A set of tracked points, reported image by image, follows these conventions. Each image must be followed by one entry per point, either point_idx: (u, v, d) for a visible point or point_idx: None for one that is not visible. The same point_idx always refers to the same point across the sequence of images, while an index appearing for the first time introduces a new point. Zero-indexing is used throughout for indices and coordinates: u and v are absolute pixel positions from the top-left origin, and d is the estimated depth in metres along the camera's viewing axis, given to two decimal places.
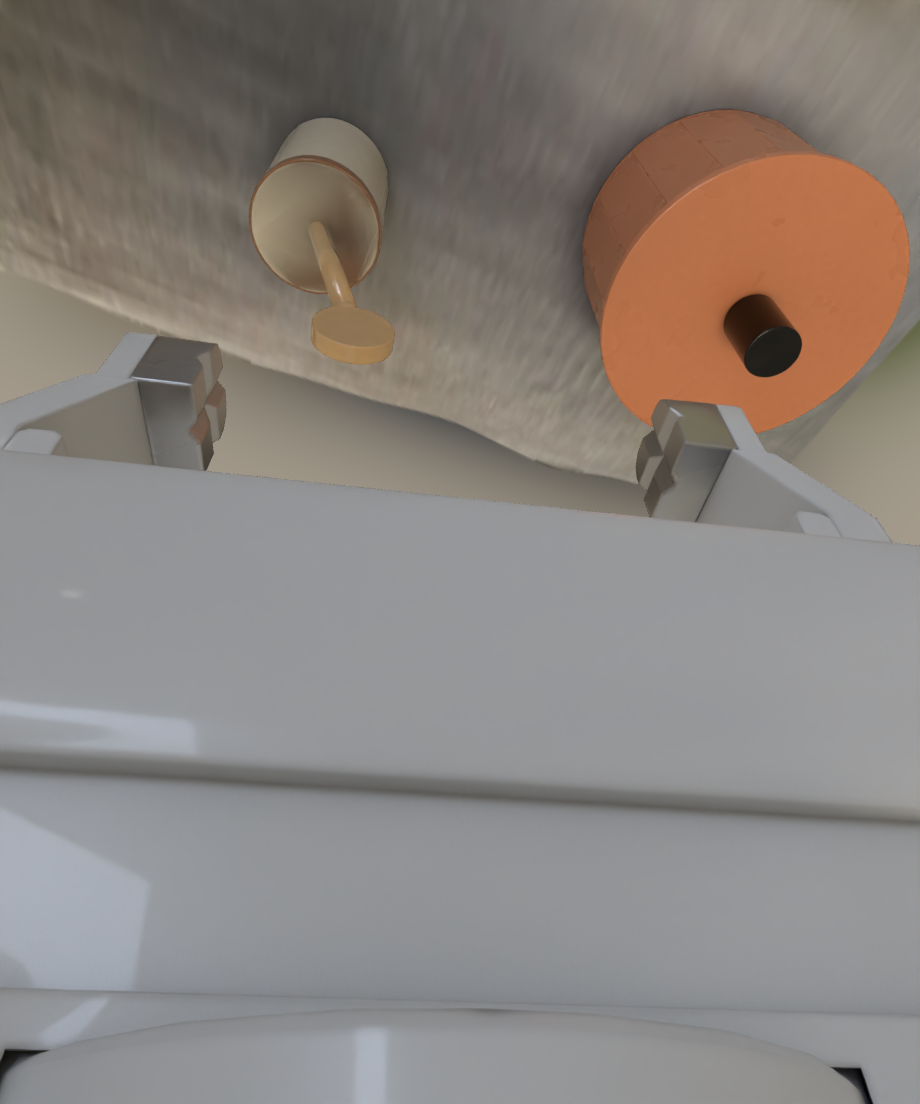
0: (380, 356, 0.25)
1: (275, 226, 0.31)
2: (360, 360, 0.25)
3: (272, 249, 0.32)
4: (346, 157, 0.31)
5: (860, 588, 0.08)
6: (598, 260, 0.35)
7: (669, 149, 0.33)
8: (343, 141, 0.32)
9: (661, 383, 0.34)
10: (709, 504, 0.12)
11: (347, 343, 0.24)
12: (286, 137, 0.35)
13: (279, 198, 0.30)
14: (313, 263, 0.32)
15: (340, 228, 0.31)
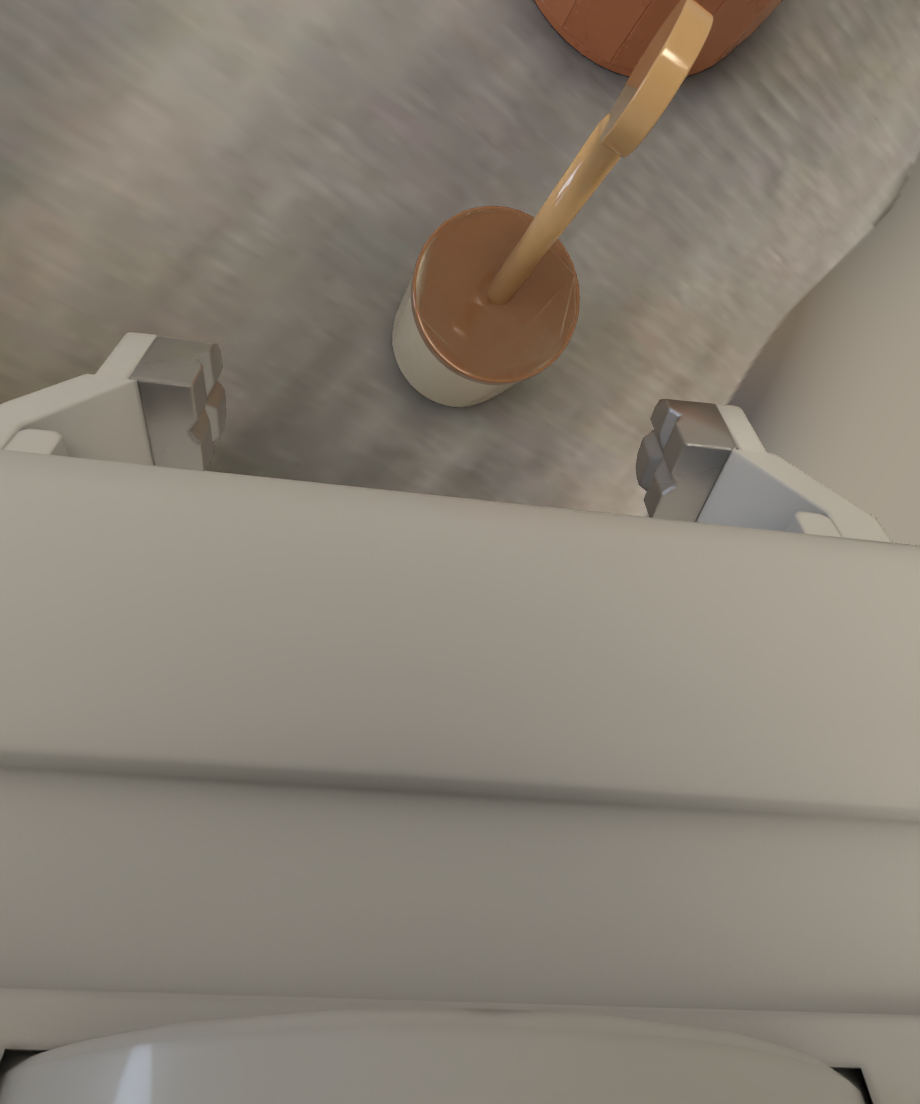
0: None
1: (478, 343, 0.24)
2: (703, 26, 0.14)
3: (503, 361, 0.24)
4: None
5: (860, 588, 0.08)
6: None
7: None
8: None
9: None
10: (709, 504, 0.12)
11: (669, 35, 0.14)
12: None
13: (449, 320, 0.23)
14: (534, 318, 0.24)
15: (504, 261, 0.24)
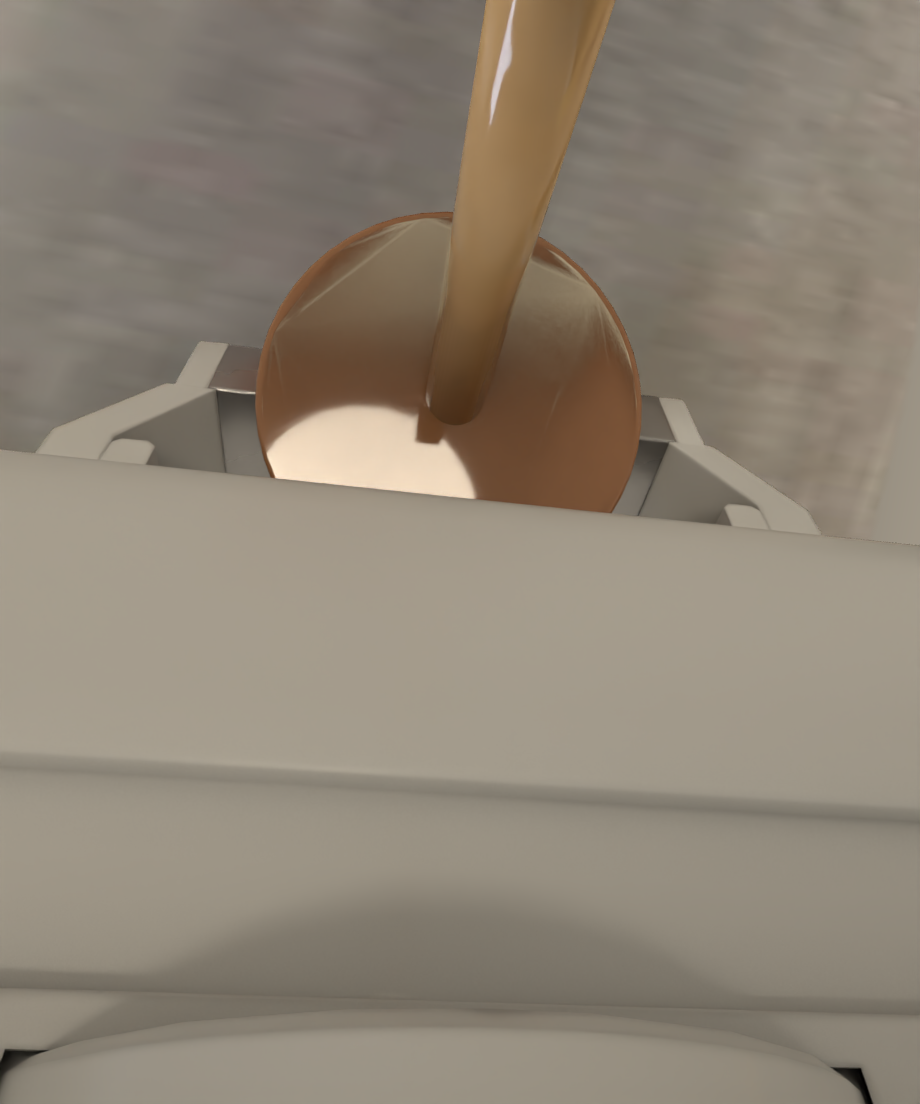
0: None
1: None
2: None
3: None
4: None
5: (860, 588, 0.08)
6: None
7: None
8: None
9: None
10: (650, 498, 0.12)
11: None
12: None
13: None
14: (549, 416, 0.11)
15: None
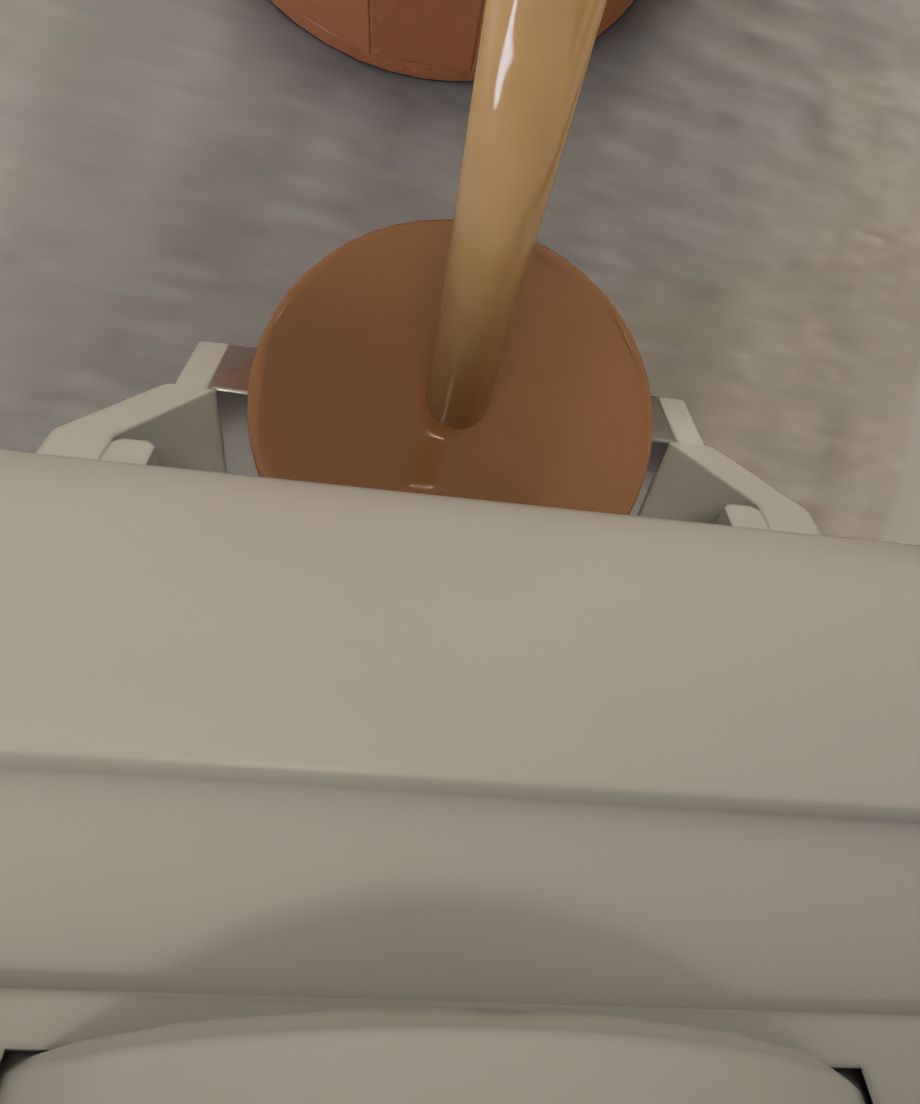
0: None
1: None
2: None
3: None
4: None
5: (860, 588, 0.08)
6: None
7: None
8: None
9: None
10: (650, 498, 0.12)
11: None
12: None
13: None
14: (556, 420, 0.10)
15: None
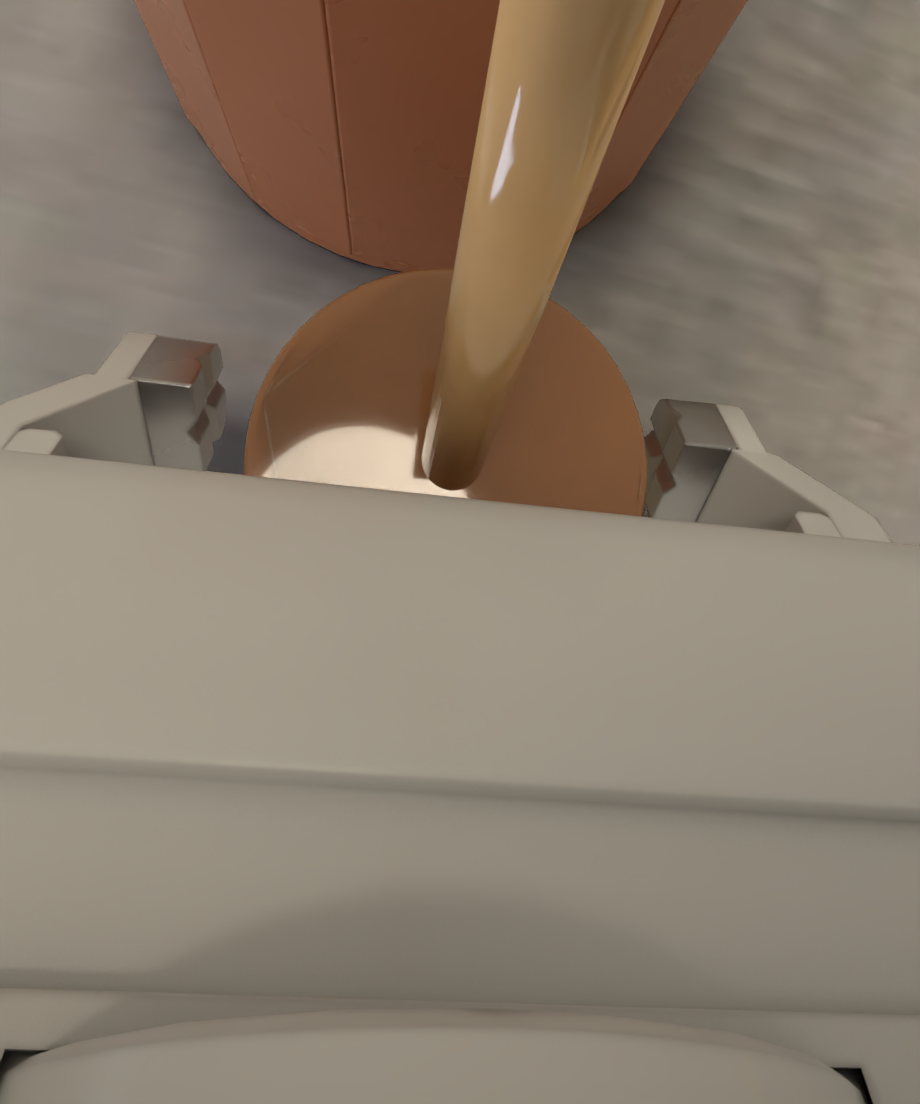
0: None
1: None
2: None
3: None
4: None
5: (860, 588, 0.08)
6: (440, 170, 0.13)
7: (184, 76, 0.14)
8: None
9: None
10: (709, 504, 0.12)
11: None
12: None
13: None
14: (550, 480, 0.10)
15: None
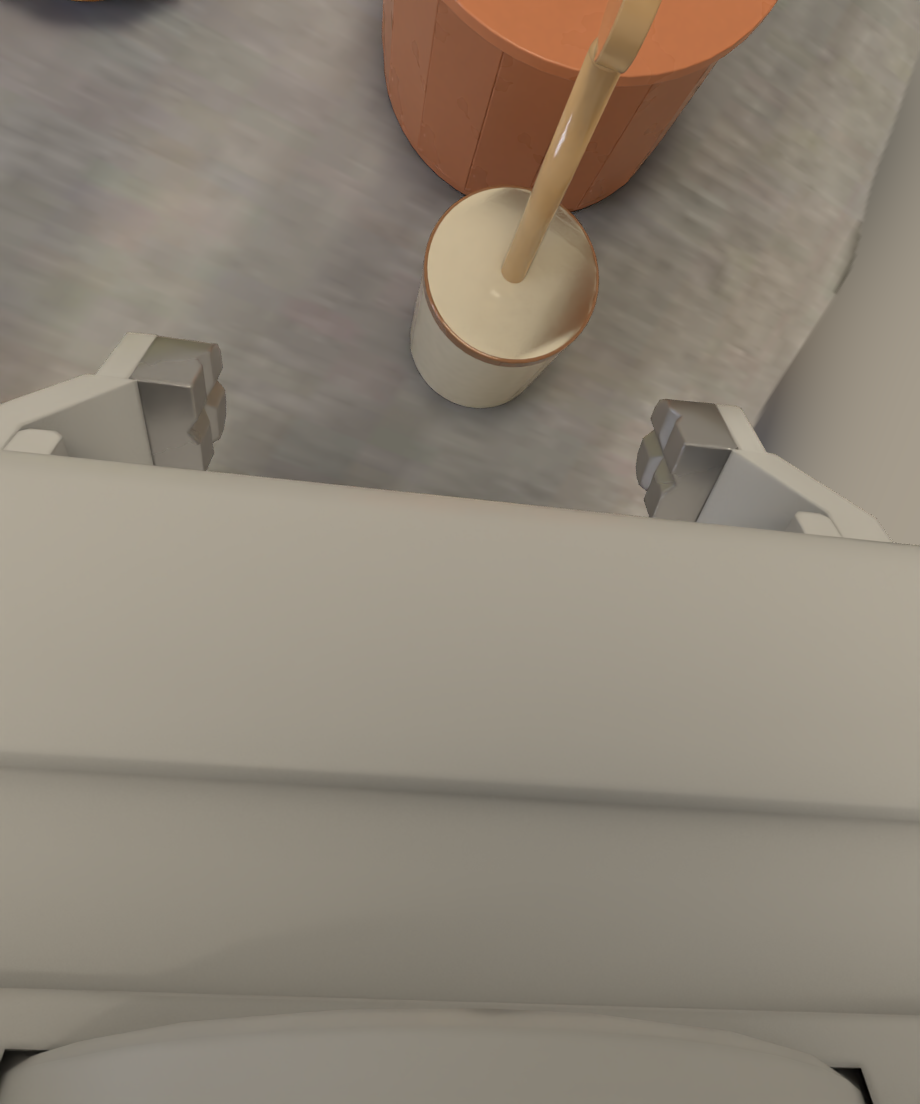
0: None
1: (503, 325, 0.23)
2: None
3: (532, 339, 0.23)
4: None
5: (860, 588, 0.08)
6: (527, 149, 0.25)
7: (405, 76, 0.26)
8: None
9: None
10: (709, 504, 0.12)
11: None
12: None
13: (469, 309, 0.23)
14: (554, 288, 0.23)
15: (512, 239, 0.23)
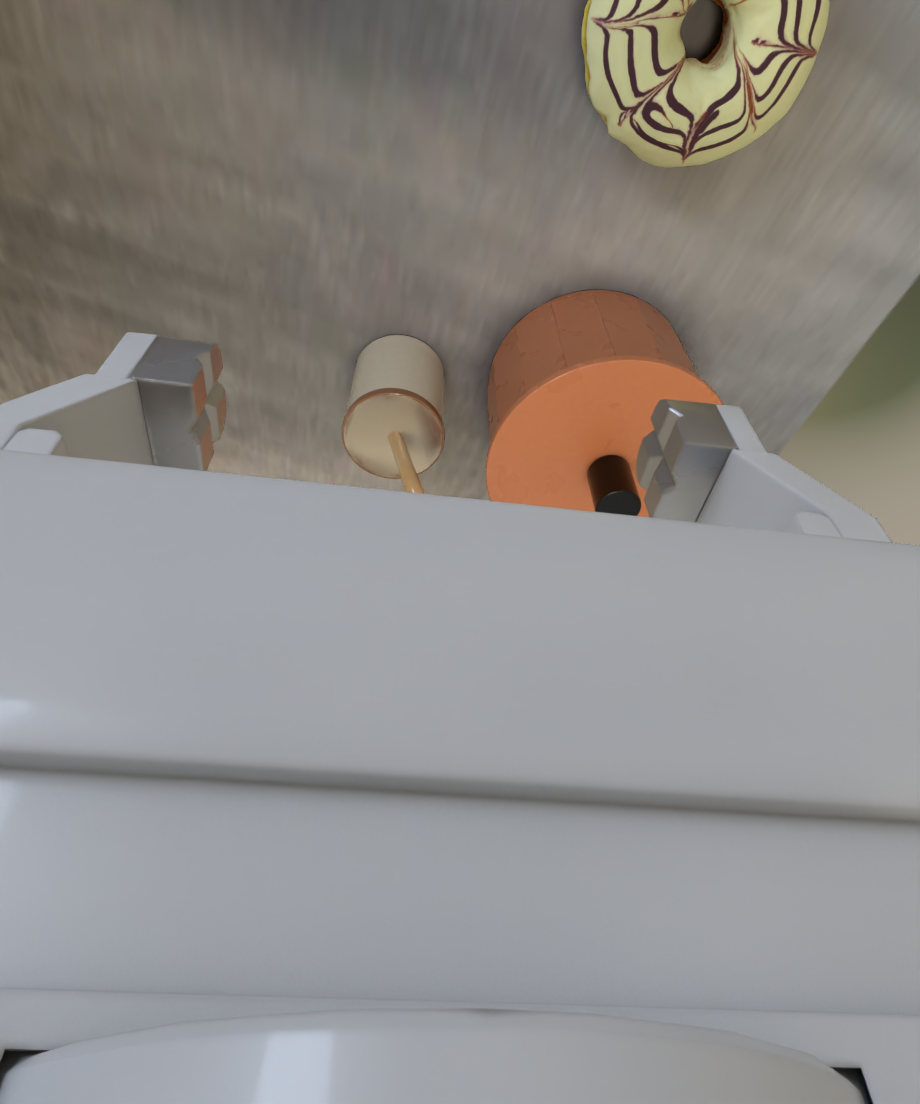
0: None
1: (362, 437, 0.40)
2: None
3: (359, 451, 0.41)
4: (415, 381, 0.40)
5: (860, 588, 0.08)
6: (491, 418, 0.42)
7: (538, 333, 0.40)
8: (410, 362, 0.41)
9: None
10: (709, 504, 0.12)
11: None
12: (363, 350, 0.44)
13: (365, 419, 0.39)
14: (391, 458, 0.41)
15: (412, 435, 0.40)
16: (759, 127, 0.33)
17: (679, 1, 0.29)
